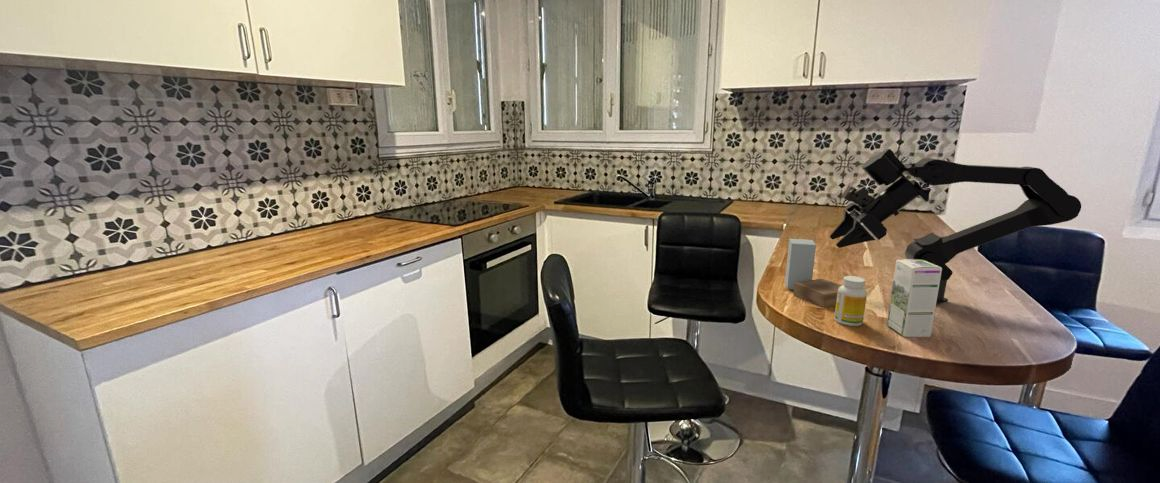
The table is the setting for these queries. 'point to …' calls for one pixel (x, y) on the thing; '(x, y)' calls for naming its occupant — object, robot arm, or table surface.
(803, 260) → the slate pillar
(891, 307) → the syrup box
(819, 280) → the walnut block
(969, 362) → the table surface
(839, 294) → the supplement bottle
